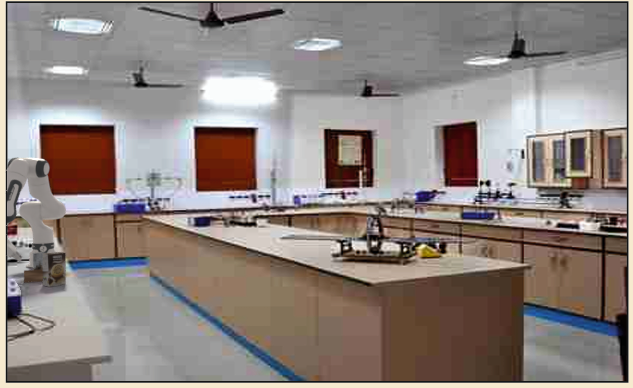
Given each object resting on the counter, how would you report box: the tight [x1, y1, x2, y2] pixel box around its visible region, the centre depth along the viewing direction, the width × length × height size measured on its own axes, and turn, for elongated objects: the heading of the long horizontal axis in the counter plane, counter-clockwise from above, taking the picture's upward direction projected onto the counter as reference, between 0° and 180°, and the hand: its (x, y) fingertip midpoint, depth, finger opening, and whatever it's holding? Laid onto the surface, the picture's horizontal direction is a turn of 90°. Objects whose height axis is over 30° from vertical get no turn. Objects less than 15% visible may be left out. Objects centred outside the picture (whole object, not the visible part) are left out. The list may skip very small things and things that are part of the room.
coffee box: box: [42, 251, 67, 288], centre depth 301 cm, size 9×6×16 cm
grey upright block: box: [32, 252, 44, 270], centre depth 315 cm, size 6×6×11 cm
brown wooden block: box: [23, 269, 43, 284], centre depth 315 cm, size 11×14×6 cm
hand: (21, 259), depth 311 cm, fingers open, 8 cm apart
